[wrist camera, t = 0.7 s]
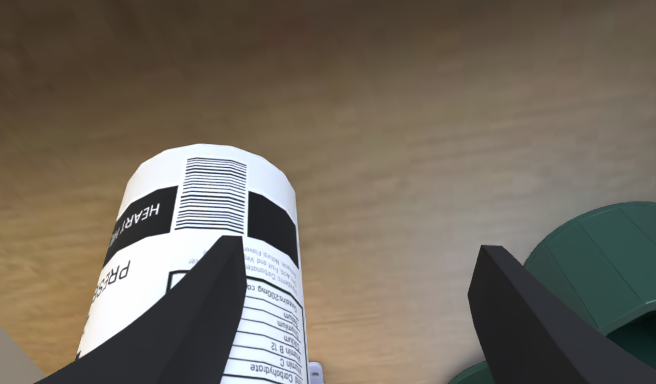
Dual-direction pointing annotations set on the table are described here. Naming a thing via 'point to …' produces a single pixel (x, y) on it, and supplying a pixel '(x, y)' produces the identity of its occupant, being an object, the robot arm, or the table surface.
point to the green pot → (606, 273)
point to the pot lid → (474, 375)
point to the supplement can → (195, 240)
